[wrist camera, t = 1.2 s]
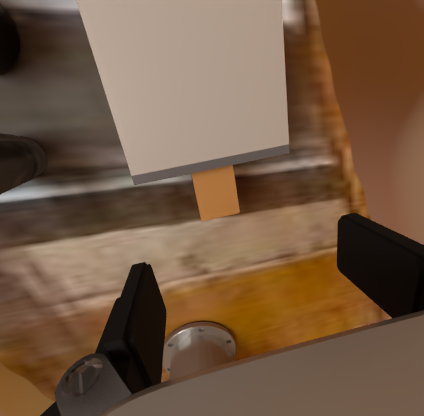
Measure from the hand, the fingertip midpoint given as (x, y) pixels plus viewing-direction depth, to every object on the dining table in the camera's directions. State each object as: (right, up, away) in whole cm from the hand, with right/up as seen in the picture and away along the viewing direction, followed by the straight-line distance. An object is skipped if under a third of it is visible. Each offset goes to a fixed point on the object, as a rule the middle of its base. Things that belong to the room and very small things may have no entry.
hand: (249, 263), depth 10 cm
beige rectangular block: (-4, +15, +14) cm, 21 cm away
